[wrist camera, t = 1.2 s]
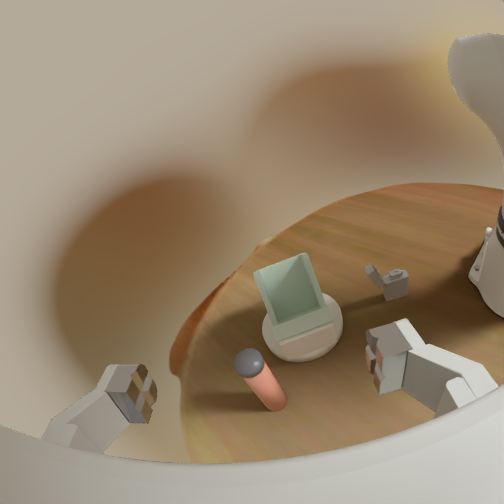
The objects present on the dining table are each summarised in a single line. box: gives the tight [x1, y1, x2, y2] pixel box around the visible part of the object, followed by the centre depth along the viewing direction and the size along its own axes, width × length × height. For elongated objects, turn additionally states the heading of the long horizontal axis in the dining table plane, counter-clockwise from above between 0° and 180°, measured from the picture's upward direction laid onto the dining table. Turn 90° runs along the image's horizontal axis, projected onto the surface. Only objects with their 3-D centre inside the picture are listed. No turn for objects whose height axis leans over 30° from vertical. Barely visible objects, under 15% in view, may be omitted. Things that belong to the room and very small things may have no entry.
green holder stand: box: [253, 253, 343, 363], centre depth 43 cm, size 13×13×12 cm
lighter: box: [364, 263, 409, 301], centre depth 43 cm, size 7×2×8 cm, turn 90°
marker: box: [233, 348, 287, 411], centre depth 34 cm, size 3×3×12 cm
